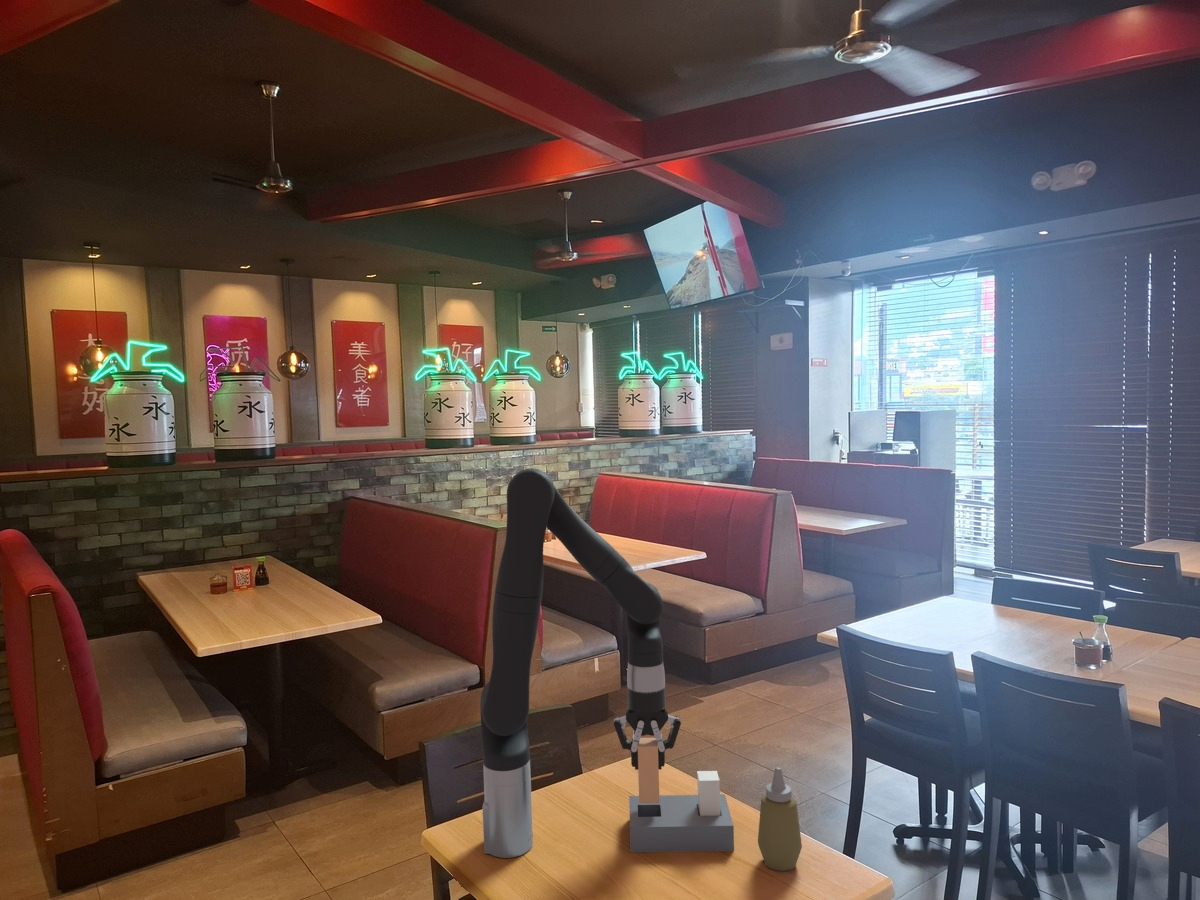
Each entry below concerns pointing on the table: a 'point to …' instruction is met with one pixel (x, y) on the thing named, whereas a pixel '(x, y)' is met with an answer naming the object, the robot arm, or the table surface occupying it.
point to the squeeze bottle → (779, 826)
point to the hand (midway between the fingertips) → (648, 767)
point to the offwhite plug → (708, 793)
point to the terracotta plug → (648, 771)
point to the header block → (678, 826)
